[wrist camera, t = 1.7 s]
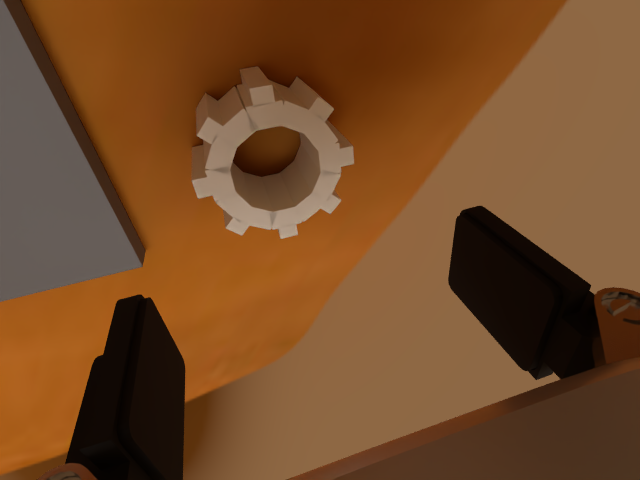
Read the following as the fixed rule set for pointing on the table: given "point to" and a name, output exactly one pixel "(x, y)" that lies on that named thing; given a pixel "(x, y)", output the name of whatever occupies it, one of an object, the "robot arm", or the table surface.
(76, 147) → the gear board
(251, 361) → the table surface
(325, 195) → the gear
